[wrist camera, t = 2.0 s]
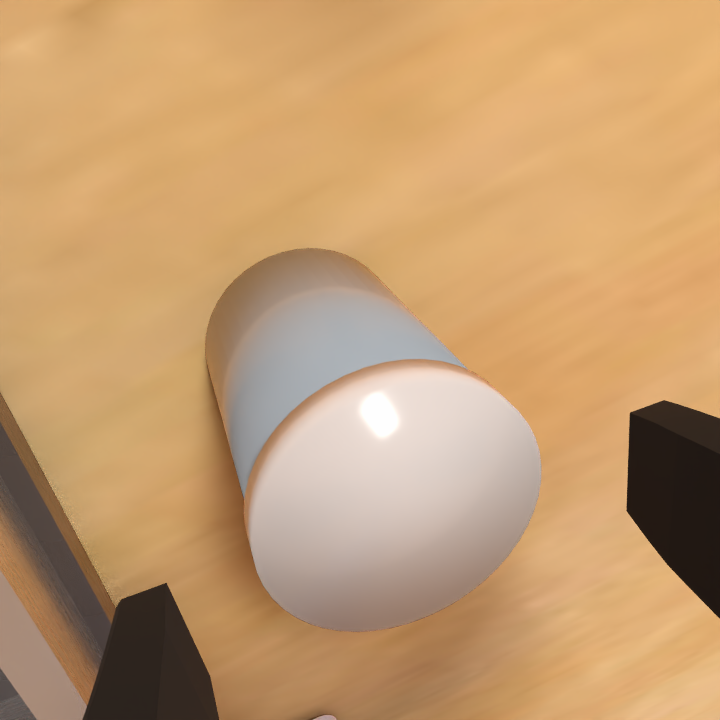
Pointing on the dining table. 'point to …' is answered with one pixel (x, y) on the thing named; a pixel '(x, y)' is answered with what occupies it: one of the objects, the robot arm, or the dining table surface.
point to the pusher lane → (44, 595)
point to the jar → (362, 446)
